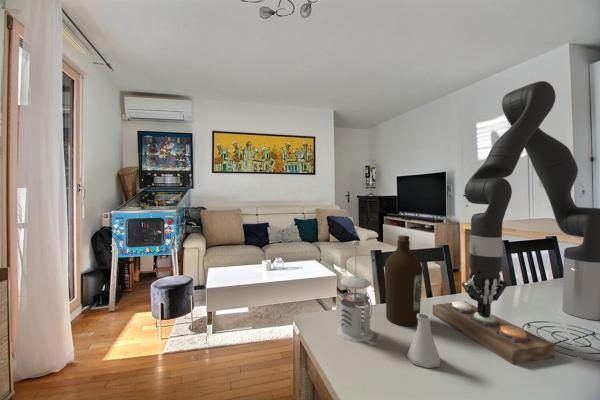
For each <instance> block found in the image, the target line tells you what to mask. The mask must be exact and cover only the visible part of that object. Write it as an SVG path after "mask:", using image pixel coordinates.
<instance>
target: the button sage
mask: <svg viewBox="0 0 600 400" xmlns="http://www.w3.org/2000/svg"><path fill="white" fill-rule="evenodd" d="M491 314H492V313H490V317H485V318H484V317H482V316H480V315H479V314H478V312H476V313H474V316H473V319H472V320H473V321H475V322H477V323H479V324H480V325H482V326H484V327H489V326H497V323H498V322H497V321H496V317H495V316H496V315H495V316H493V315H494V314H492V315H491Z"/></svg>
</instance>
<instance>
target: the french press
mask: <svg viewBox="0 0 600 400" xmlns="http://www.w3.org/2000/svg"><path fill="white" fill-rule="evenodd" d="M352 246H354V247H355V249H354V250H355V251H354V254H355V257H354V259H355V260H354V262H355V263H354V266H355V268H354V269H355V270H354V275H349V276H346V277H343V279H341V280H340V284H341V286H343V287H345V288H348V289H354V291H353V292H345V293H343V294H342V296H341V298H342V299H341V301H340V310H341V311H340V326H339V327H338V328H337V330H336V332H337V334H338V336H339V337H340V338H342V339H343V340H346V341H349V342H355V343H360V342H361V343H364V342H368V341H370V340H373V338H374V332H373V330H372V329H371V318H372V315H373V304H372V300H371V297H370V295H369V293H368V292H367V291H366V292H365V294H364V293H362V292H357V290H360V289H361V290H362V289H367V288H369V287H370V286H371V285H372V282H370V281H371V280H370V281H369V280H368V279H367V278H366V277H363V276H359V275H357V246H360V241H359V240H353V241H352ZM357 306H358V307H357Z"/></svg>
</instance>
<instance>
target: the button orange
mask: <svg viewBox="0 0 600 400" xmlns="http://www.w3.org/2000/svg"><path fill="white" fill-rule="evenodd" d="M520 328H521V327H520ZM520 328H517V327H514V326H508V325H504V326H501V330H499V335H501V336H503V337H504V338H506V339H508V340H510V341H512V342H514V343H518V342H525V341H528V336H526V332H525V331H524V330H525V329H524V330H522V329H523V328H522V329H520Z"/></svg>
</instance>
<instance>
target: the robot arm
mask: <svg viewBox="0 0 600 400" xmlns="http://www.w3.org/2000/svg"><path fill="white" fill-rule="evenodd" d="M555 91H556V90H555V88H554V86H553V85H552V84H551V83H550V82H548V81H547V80H546V81H545V80H540V81H535V82H533V83H530V84H527V85H525V86H522V87H520V88H516V89H514V90H512V91H510V92H508V93H506V94H504V96H503V97H502V99H501V100H502V101H501V107H502V111H503V114H504V116H505V119H506V120H507V122H508V123H509V124H510V127H509V128H508V129H507V130H506V131H505V132H504V133H503V134H501V136H500V137H499V138H498V139H497V140H496V141H495V143H494V144H493V146H491V148H490V151H489V153H488V155H487V157H486V158H485V161H484V163H483V164H482V165H481V166H480V167H479V168H478V169H477V170H476V171H475V172H474V173H473V175H472V176H470V178H469V179H468V181H467V183H466V185H465V187H464V197H465V199H466V201H468V203H470V204H475V205H487V208H486V210H485V211H484V212H479V213H478V212H477V213H474V214H473V215H472V216H471V219H470V237H469V238H470V239H469V246H468V247H469V251H468V268H469V269H470V274H469V279H468V280H467V281H466V282H465V281H462V283H461V286H462V288H463V290H464V291H465V292H466V293H467V295H468V296H469V297H470V299H471V300H473V301H475V302H477V307H478V310H477V312H478V314H479V315H480V316H482V317H484V318H485V317H490V314H492V313H491V311H492V310H491V309H492V308H491V306H492V304H493V302H494V301H496V302H497V301H498V300H499V299H500V297H501V296H502V295H503V292H504V291H505V290H506V288H507V286H508V282H507V281H504V280H503V279H501V275H500V273H502V272H503V260H504V259H503V255H504V252H503V250H504V245H503V221H504V219H505V218H504V217H505V216H506V213H507V210H508V207H509V205H510V201H511V198H512V194H513V190H512V186H511V183H510V182H509V181H508V180H507V179H506V178H508V177H510V176H511V175H512V174H513V173H514V171H515V168H516V167H517V164H518V162H519V160H520V158H521V155H522V154H523V152H524V149H525V151H526V155H528V157H529V159H530V162H531V165H532V167H533V170H534V171H535V173H536V175H537V177H538V179H539V180H540V182H541V184H542V186H543V189H544V191H545V193H546V196H547V198H548V200H549V204H550V206H551V209H552V213H553V215H554V218H555V221H556V223H557V225H558V228H559V230H560V231H561V232H562V233H564V234H565V235H568V236H573V237H578V238H579V237H581V238H583V240H582V243H581V244H578V245H576V246H569V247H565V248H564V250H563V281H562V311H563V312H565V313H567V314H569V315H570V316H573V317H577V318H582V319H587V320H591V321H600V208H599V207H585V206H584V207H581V206H577V205H576V204H575V202H574V200H573V197H572V189H573V187H574V184H575V182H576V180H577V177H578V173H579V167H578V164H577V162H576V160H575V158H574V155H573V154H572V152H571V150H570V148H569V147H568V146H567V145H566V144H564V143H563V142H562V141H559V140H558V139H556V138H555V137H553V136H552V135H549V134H548V133H546V132H545V131H543V130H542V129H541V128H540V126H541V125H542V123H543V121H544V120H545V119H546V117H547V116H548V115H549V113H550V112H551V111H552V109H553V107H554V105H555V102H556V98H557V97H556V92H555Z"/></svg>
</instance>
